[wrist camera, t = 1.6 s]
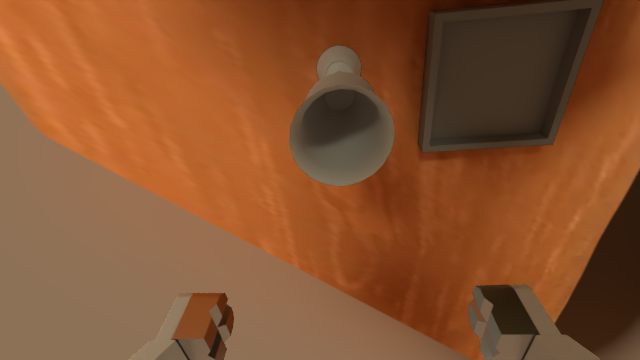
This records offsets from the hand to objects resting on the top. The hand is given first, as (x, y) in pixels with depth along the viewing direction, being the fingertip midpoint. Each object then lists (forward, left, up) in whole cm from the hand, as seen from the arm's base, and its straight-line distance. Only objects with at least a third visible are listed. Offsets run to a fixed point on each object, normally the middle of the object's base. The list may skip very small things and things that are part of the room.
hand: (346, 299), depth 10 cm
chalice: (0, 0, -30) cm, 30 cm away
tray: (+2, +17, -30) cm, 34 cm away
